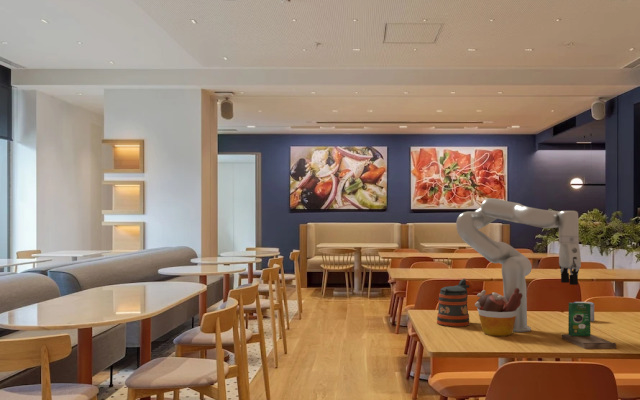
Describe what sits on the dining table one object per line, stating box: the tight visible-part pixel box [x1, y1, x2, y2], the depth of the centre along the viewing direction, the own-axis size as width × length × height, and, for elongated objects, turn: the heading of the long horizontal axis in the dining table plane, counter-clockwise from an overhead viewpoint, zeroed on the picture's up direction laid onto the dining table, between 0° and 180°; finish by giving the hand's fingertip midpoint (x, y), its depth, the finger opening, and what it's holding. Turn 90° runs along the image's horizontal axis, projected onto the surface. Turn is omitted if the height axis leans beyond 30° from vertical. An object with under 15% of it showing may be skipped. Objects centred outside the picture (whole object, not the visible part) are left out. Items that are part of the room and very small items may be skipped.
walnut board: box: [561, 333, 617, 350], centre depth 217 cm, size 12×18×2 cm, turn 2°
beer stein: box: [436, 278, 470, 328], centre depth 260 cm, size 19×15×20 cm
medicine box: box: [573, 301, 595, 322], centre depth 266 cm, size 8×4×9 cm, turn 84°
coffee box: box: [567, 302, 592, 336], centre depth 223 cm, size 8×3×13 cm, turn 92°
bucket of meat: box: [474, 288, 523, 337], centre depth 235 cm, size 20×16×20 cm
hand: (569, 283), depth 232 cm, fingers open, 6 cm apart
